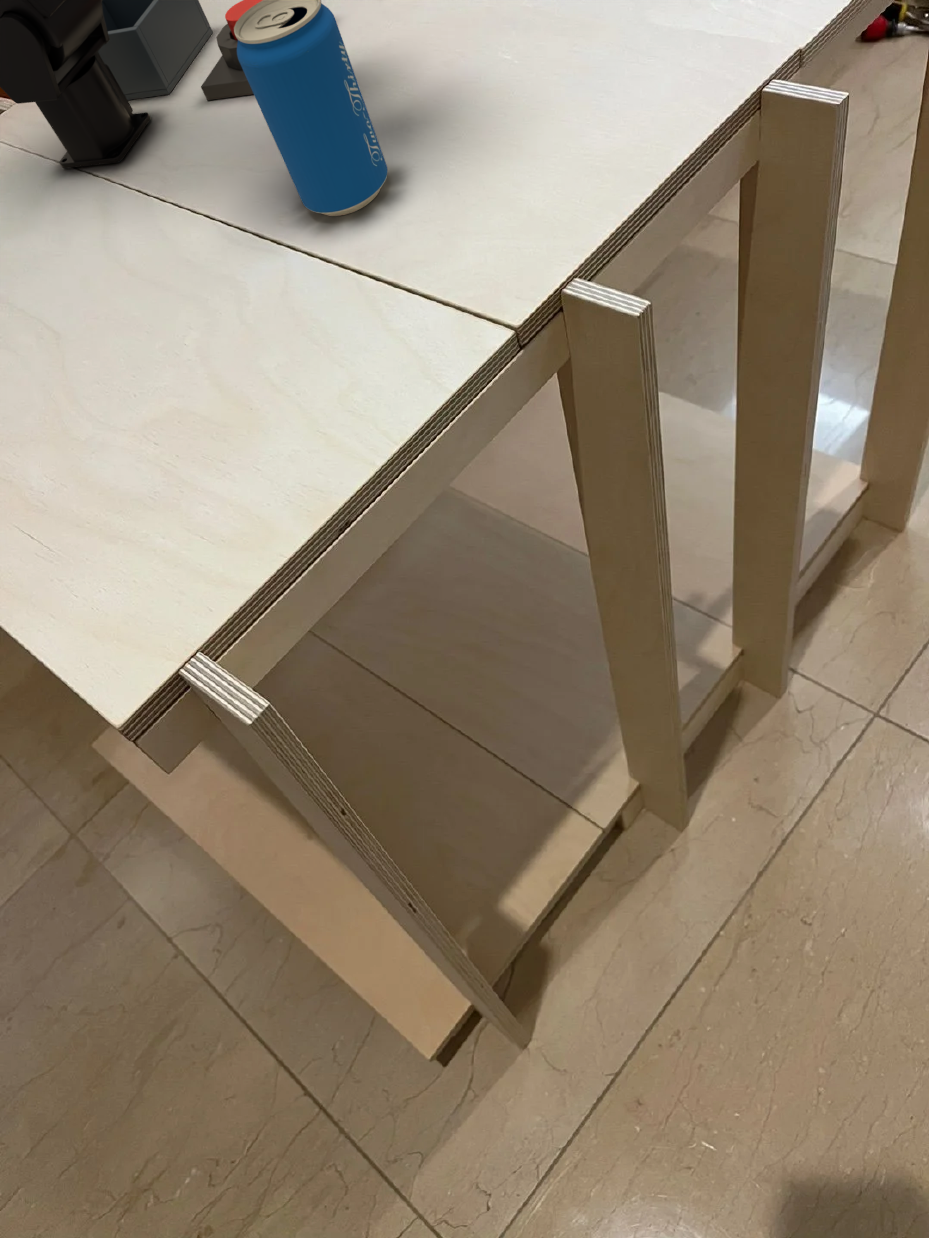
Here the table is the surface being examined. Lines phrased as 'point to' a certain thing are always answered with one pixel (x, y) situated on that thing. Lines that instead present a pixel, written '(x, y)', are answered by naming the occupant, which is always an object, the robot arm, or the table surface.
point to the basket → (152, 43)
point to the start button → (238, 13)
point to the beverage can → (311, 103)
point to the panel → (226, 71)
